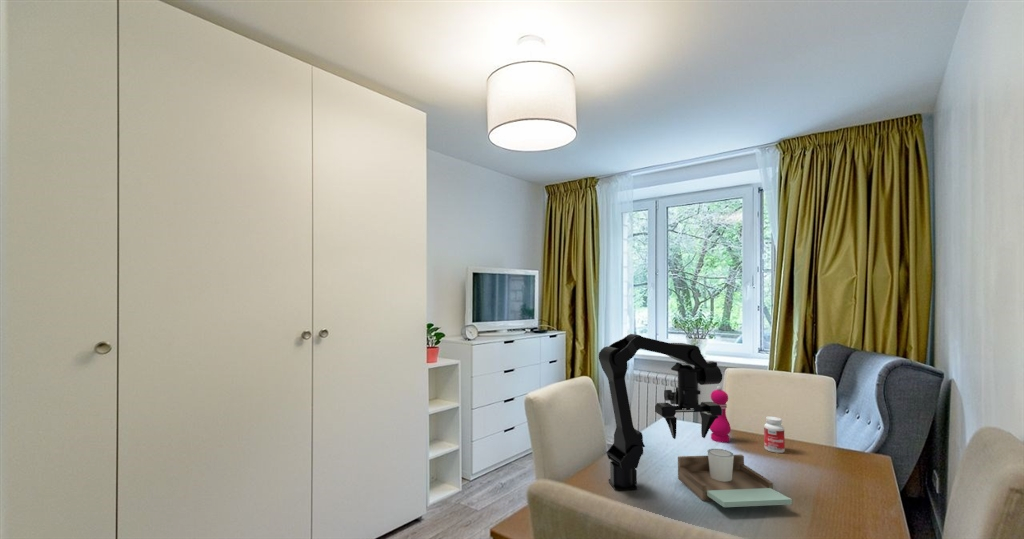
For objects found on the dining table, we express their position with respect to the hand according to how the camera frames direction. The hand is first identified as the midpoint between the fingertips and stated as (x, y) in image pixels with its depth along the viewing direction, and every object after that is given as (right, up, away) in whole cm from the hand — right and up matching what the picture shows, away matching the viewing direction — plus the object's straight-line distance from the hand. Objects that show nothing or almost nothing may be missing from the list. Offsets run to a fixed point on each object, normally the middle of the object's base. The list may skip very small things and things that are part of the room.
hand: (688, 438), depth 134 cm
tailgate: (+7, -8, -15) cm, 19 cm away
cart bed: (+7, -11, -8) cm, 15 cm away
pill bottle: (+39, -13, +22) cm, 47 cm away
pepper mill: (+25, -13, +33) cm, 43 cm away
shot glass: (+7, -9, -7) cm, 13 cm away
